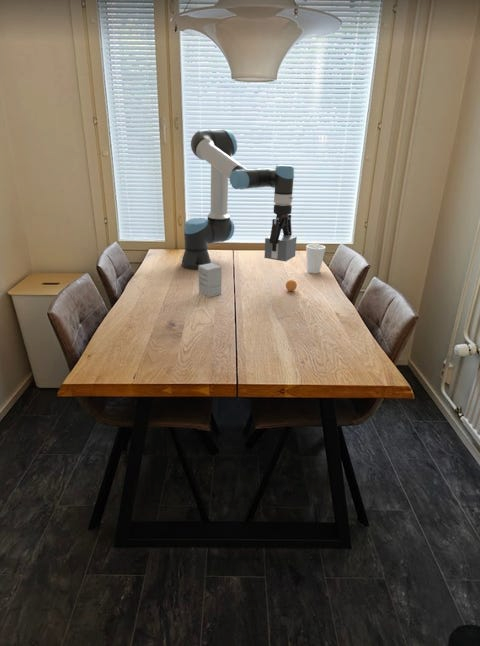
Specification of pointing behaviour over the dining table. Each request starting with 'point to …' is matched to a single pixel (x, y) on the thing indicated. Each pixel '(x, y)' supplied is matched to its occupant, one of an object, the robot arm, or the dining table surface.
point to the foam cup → (314, 257)
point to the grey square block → (282, 247)
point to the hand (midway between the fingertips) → (279, 255)
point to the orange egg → (291, 285)
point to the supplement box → (209, 279)
